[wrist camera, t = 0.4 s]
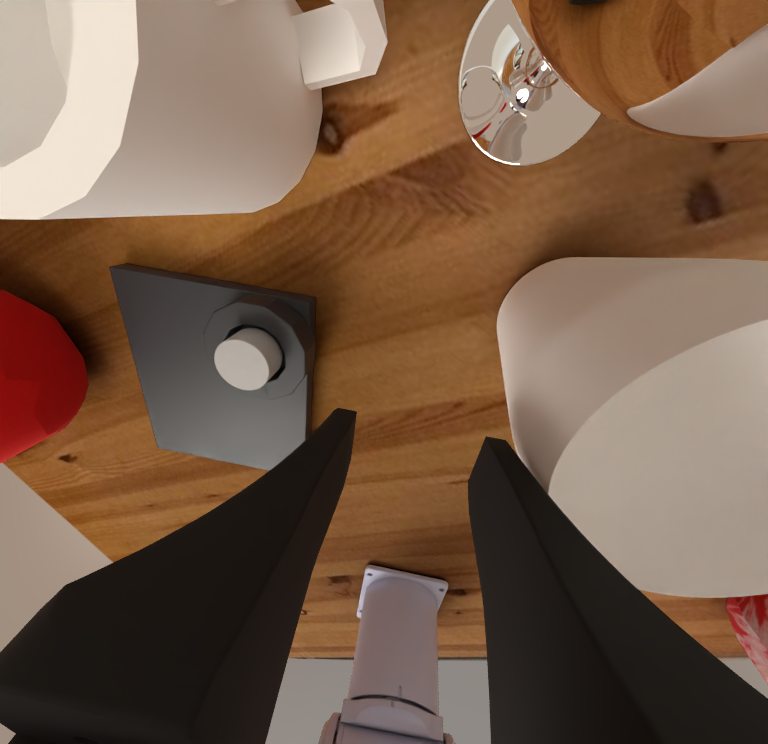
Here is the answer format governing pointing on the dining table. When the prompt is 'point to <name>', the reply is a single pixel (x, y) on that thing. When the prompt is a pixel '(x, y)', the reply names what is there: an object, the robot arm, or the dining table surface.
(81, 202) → the mug
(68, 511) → the dining table surface
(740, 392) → the cup
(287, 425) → the gray plate with knob
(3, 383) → the tomato
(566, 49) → the wineglass
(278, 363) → the button
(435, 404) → the dining table surface
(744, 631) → the water bottle
